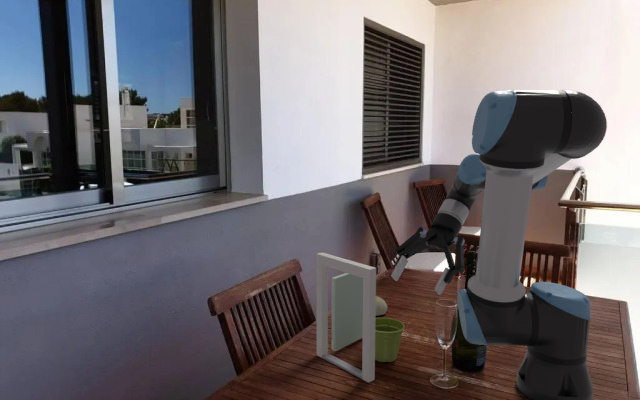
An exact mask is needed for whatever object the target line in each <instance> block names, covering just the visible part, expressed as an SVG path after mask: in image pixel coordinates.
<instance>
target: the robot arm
mask: <svg viewBox="0 0 640 400" xmlns="http://www.w3.org/2000/svg"><path fill="white" fill-rule="evenodd" d="M607 125H608V123H607V116H606V114H605V112H604V109H602V107H601V105H600V104H599V102H597V101H596V100H595V99H594V98H593V97H591V96H590V95H587V94H586V93H583V92H581V91H578V90H572V89H560V90H559V89H557V90H556V89H554V90H553V89H551V90H548V89H538V90H537V89H508V90H498V91H497V90H496V91H490V92H489V93H486V95H485V96H483V98H482V99H481V101H480V102H479V104H478V107H477V109H476V113H475V116H474V119H473V125H472V132H471V135H472V138H471V147H472V150H473V152H474V153H471V154H468V155H467V156H465V157H464V158H463V159H462V160H461V162H460V164H459V166H458V168H457V172H456V175H455V177H454V179H453V183H452V185H451V187H450V189H449V191H448V192H447V195H446V198H445V199H444V200H443V202H442V204H441V205H440V207H439V210H437V214H436V215H435V217H434V218H433V220H432V222H431V226H430V228H429V229H428V230H426V229H424V228H423V227H422V226H421V227H418V228H417V230H416V231H415V232H414V234H412V235H411V236H410V237H408V239H406V240H405V241H404V242H403V243H402V244H401V245H399V246H398V247H396V248H395V252H396V253H397V254H398V258H397V260H396V262H395V264H394V266H395V267H394V269H393V270H392V273H391V275H390V277H392V279H393V280H394V281H396V282H398V280H399V279H400V277H401V276H402V273H403V271H404V270H405V268H406V266H407V264H408V262H409V260H408V259H409V258H411V257H413V256H415V255H417V254H418V253H420V252H422V251H425V250H428V249H430V248H431V249H433V250H438V251H443V252H444V255H445V258H446V259H445V260H446V262H447V265H448V267H445V268H444V270H443V272H442V274H441V276H440V278H439V280H438V281H437V284H436V285H435V287H434V291H435V292H436V293H437V295H439V296H441V295H442V294H443V292H444V290H445V288H446V285H447V284H448V285H449V284H450V283H451V282H452V280H453V278H454V276H455V275H456V274H457V273H459V274H464V273H465V255H464V254H465V253H464V249H465V245H466V241H465V238H464V237H463V236H462V235H459V233H460V232H461V230H462V227H463V226H464V224H465V221H466V220H467V218H468V217H469V215H470V212H471V210H472V208H473V206H474V205H475V202H476V200H477V199H478V197H479V195H480V193H481V192H482V191H483V190H484V191H483V192H484V195H483V203H482V211H481V213H482V215H481V220H480V221H481V222H480V223H481V224H480V231H479V241H478V242H479V243H478V244H479V245H478V250H477V251H478V252H477V262H476V269H475V270H476V272H475V274H474V275H472V276H471V277H469V279H468V281H467V288H462V289H459V290H458V292H457V307H458V314H459V320H460V326H461V331H462V335H463V336H464V339H465V340H466V341H467V343H469V344H473V345H480V346H481V345H482V346H483V345H484V346H485V347H488V346H509V347H511V346H512V347H513V346H517V347H522V346H523V347H526V349H527V350H526V353H525V356H524V358H523V360H522V361H521V364H520V366H519V367H518V368H519V369H518V370H517V373H516V387H517V389H518V391H520V392H521V393H522V394H523V395H524V396H525V397H527V398H528V399H529V400H593V398H594V385H593V382H592V378H591V375H590V372H589V368H588V365H587V356H588V355H587V354H588V344H589V334H590V322H591V319H592V316H591V301H590V299H589V298H588V296H587V295H586V294H585V293H583V292H582V291H579V290H577V289H576V288H572V287H570V286H567V285H565V284H564V285H563V284H560V283H556V282H550V281H537V282H535V281H534V282H533V283H532V284H531V285H530V287H529V290H526V287H525V286H524V284H523V283H522V282H521V281H520V279H521V278H520V277H521V269H522V264H523V263H522V262H523V256H524V248H525V247H524V246H525V241H526V233H527V227H528V226H527V225H528V219H529V218H528V217H529V211H530V203H531V196H532V191H534V190H535V191H536V190H537V191H538V190H543V189H544V188H545V187H546V184H547V182H548V176H549V175H550V174H551V173H553V172H555V171H556V170H558V169H559V168H560V167H562V166H563V165H565V164H566V163H567V162H569V161H571V160H577V159H580V158H583V157H586V156H588V155H589V154H590V153H592V152H593V151H595V150H596V149H597V148H598V147H599V146H601V143H602V142H603V141H604V139H605V136H606V133H607V129H608V126H607ZM458 235H459V236H458ZM426 242H427V243H426ZM453 244H455V251H456V252H455V257H456V258H455V261H454V258H453V256H452V251H451V248H450V246H451V245H453ZM455 262H456V263H455Z"/></svg>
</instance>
